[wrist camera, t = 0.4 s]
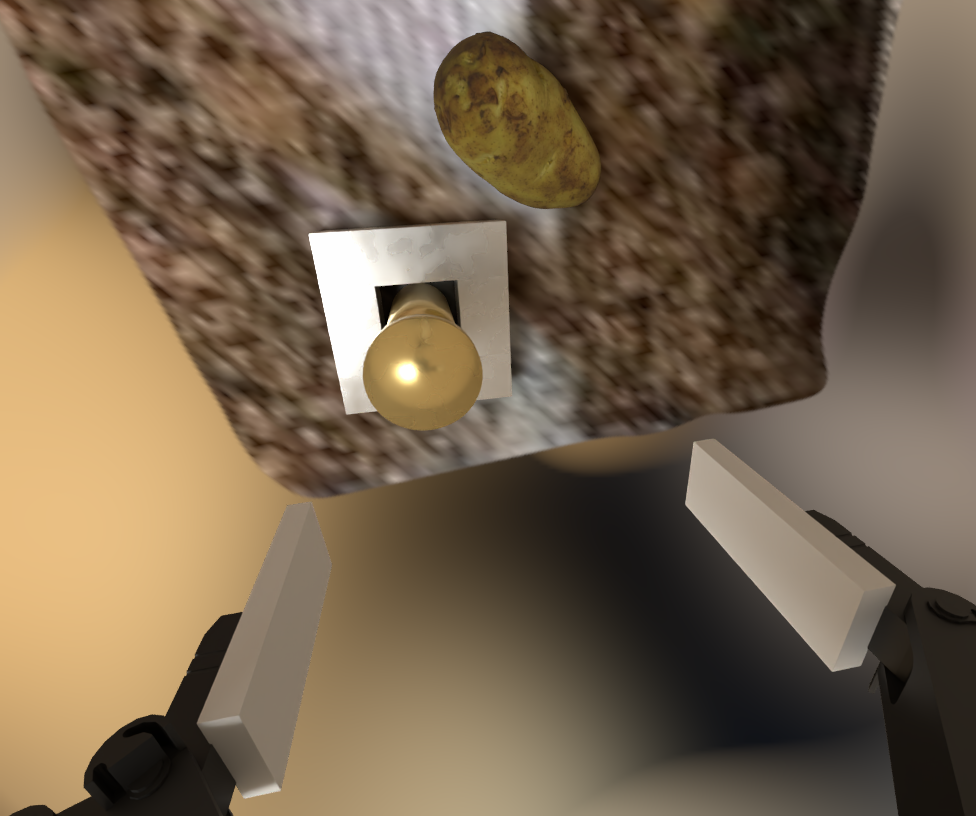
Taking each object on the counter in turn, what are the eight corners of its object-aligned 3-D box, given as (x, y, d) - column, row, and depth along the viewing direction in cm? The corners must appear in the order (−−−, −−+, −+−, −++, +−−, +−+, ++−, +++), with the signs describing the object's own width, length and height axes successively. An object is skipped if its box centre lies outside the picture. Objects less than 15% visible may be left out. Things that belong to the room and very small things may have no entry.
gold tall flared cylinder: (377, 277, 37) (352, 324, 22) (454, 271, 37) (479, 313, 23) (388, 351, 39) (373, 436, 25) (460, 344, 40) (485, 423, 26)
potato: (519, 250, 37) (543, 261, 30) (412, 107, 32) (411, 79, 25) (598, 180, 36) (643, 174, 29) (499, 19, 31) (525, -37, 24)
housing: (319, 230, 35) (308, 233, 31) (496, 219, 36) (506, 220, 33) (352, 395, 41) (346, 414, 37) (503, 379, 42) (511, 396, 38)
